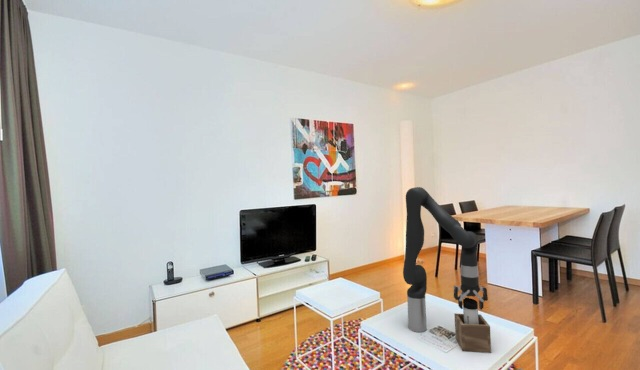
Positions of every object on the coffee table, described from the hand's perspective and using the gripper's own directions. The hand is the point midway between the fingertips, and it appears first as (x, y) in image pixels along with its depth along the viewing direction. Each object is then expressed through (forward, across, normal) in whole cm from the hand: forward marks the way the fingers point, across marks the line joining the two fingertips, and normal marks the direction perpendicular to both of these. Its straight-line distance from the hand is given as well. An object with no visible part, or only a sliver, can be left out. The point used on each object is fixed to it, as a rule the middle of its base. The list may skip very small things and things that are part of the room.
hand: (470, 308), depth 139 cm
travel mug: (+16, 0, 0) cm, 16 cm away
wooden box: (+17, 0, 0) cm, 17 cm away
